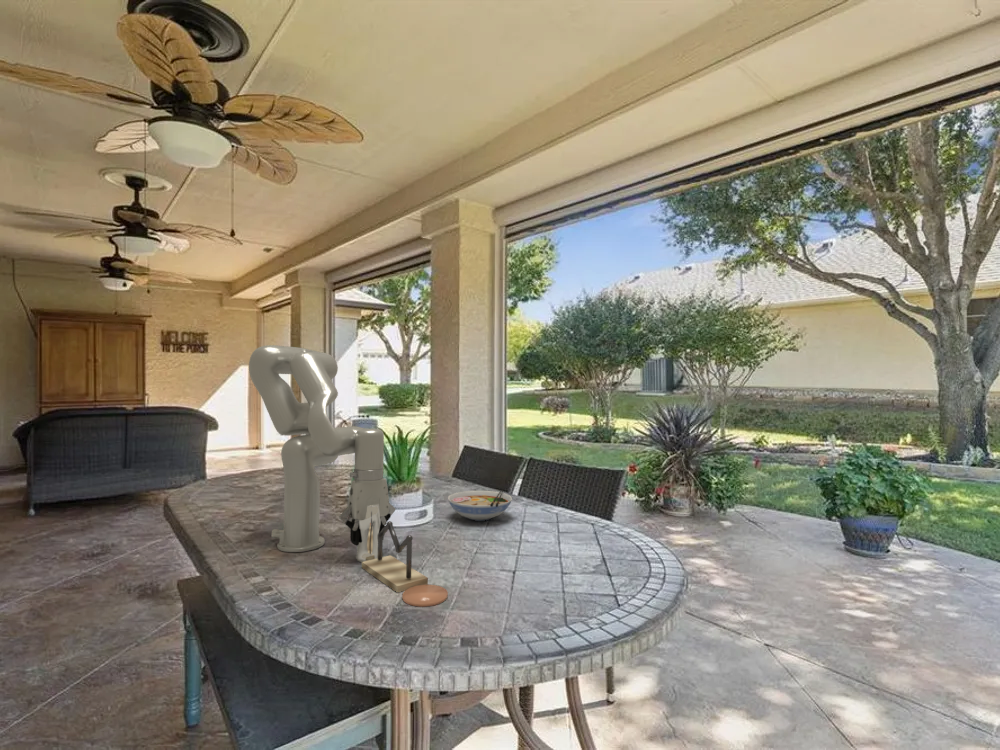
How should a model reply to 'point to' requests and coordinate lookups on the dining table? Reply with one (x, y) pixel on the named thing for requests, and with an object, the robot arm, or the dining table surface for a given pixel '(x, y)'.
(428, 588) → the terracotta coaster
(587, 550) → the dining table surface
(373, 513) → the beer glass
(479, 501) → the ramen bowl
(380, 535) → the bent wire
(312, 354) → the robot arm
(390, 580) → the wire board
